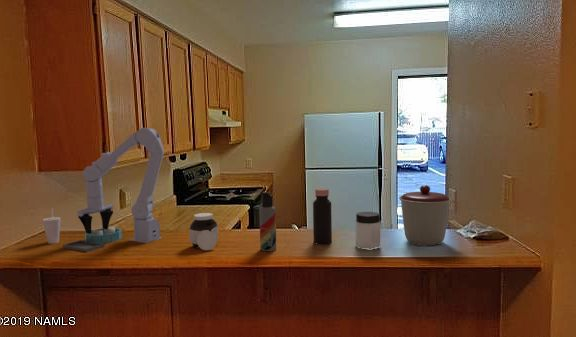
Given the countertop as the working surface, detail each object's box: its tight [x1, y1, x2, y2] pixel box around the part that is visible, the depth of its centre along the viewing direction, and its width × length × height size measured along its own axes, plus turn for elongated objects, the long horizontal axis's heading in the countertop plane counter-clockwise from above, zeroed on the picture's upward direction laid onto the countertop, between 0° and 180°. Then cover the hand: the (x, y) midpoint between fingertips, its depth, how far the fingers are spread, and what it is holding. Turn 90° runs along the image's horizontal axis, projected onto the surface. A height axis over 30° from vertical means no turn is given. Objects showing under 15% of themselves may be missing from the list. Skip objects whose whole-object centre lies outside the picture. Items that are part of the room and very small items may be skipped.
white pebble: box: [92, 229, 103, 235], centre depth 166 cm, size 4×4×4 cm
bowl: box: [84, 227, 123, 244], centre depth 169 cm, size 13×13×4 cm
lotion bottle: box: [258, 193, 277, 252], centre depth 150 cm, size 6×6×20 cm
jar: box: [355, 211, 381, 249], centre depth 150 cm, size 9×8×12 cm
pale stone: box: [104, 226, 116, 235], centre depth 171 cm, size 4×4×4 cm
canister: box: [398, 184, 452, 246], centre depth 154 cm, size 18×18×21 cm
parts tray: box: [62, 239, 106, 253], centre depth 157 cm, size 13×7×2 cm, turn 62°
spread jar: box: [189, 212, 219, 251], centre depth 155 cm, size 12×11×12 cm
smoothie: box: [42, 207, 62, 244], centre depth 165 cm, size 6×6×14 cm
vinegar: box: [312, 188, 333, 245], centre depth 157 cm, size 7×7×20 cm
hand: (97, 231), depth 166 cm, fingers open, 7 cm apart
